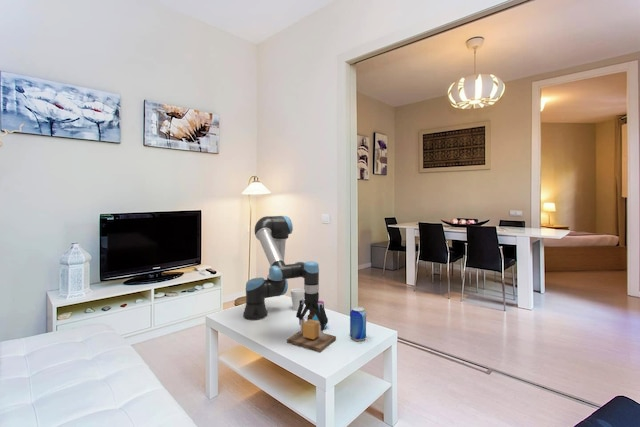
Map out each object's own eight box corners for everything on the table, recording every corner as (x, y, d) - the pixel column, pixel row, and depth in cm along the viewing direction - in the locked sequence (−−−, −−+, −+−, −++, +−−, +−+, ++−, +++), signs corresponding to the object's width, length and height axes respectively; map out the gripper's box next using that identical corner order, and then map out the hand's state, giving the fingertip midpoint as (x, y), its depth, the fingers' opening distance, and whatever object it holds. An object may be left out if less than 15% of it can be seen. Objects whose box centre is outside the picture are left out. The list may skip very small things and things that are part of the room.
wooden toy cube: (302, 336, 160) (302, 323, 160) (309, 332, 166) (309, 319, 165) (313, 339, 157) (313, 325, 156) (320, 334, 162) (320, 321, 162)
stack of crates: (319, 326, 183) (319, 314, 183) (298, 321, 191) (298, 310, 191) (331, 318, 196) (331, 307, 196) (311, 313, 204) (311, 303, 203)
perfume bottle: (308, 326, 180) (308, 301, 180) (321, 322, 186) (321, 298, 186) (319, 331, 173) (319, 305, 173) (331, 327, 179) (331, 301, 179)
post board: (286, 342, 160) (286, 325, 159) (304, 331, 173) (304, 315, 173) (319, 352, 149) (319, 334, 149) (335, 340, 163) (335, 323, 162)
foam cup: (288, 309, 209) (287, 290, 209) (296, 306, 217) (296, 287, 216) (298, 312, 204) (298, 293, 203) (307, 308, 211) (307, 289, 211)
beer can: (369, 338, 165) (369, 308, 165) (360, 343, 159) (360, 312, 158) (356, 333, 171) (356, 304, 170) (346, 338, 165) (346, 308, 164)
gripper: (289, 290, 163) (289, 331, 164) (327, 297, 151) (327, 341, 152) (297, 287, 170) (297, 326, 170) (334, 293, 157) (334, 336, 158)
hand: (311, 333), depth 161 cm, fingers open, 11 cm apart
